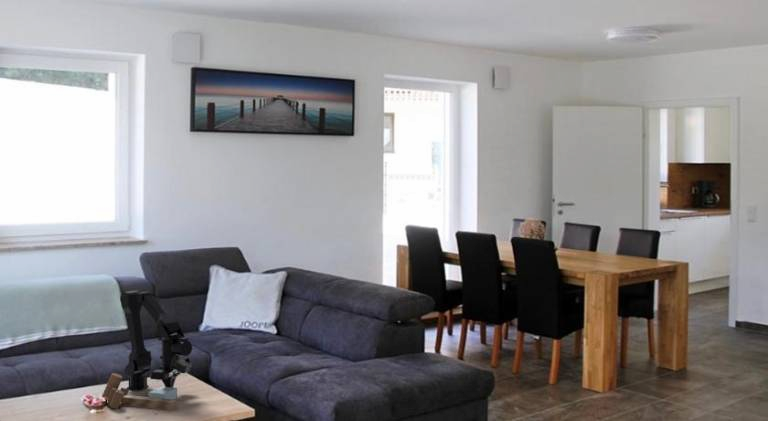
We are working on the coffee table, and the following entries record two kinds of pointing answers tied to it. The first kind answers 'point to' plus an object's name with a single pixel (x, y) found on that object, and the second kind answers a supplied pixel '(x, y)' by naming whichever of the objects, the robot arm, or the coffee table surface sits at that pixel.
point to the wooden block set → (114, 391)
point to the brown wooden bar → (149, 402)
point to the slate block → (164, 393)
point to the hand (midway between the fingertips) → (170, 392)
